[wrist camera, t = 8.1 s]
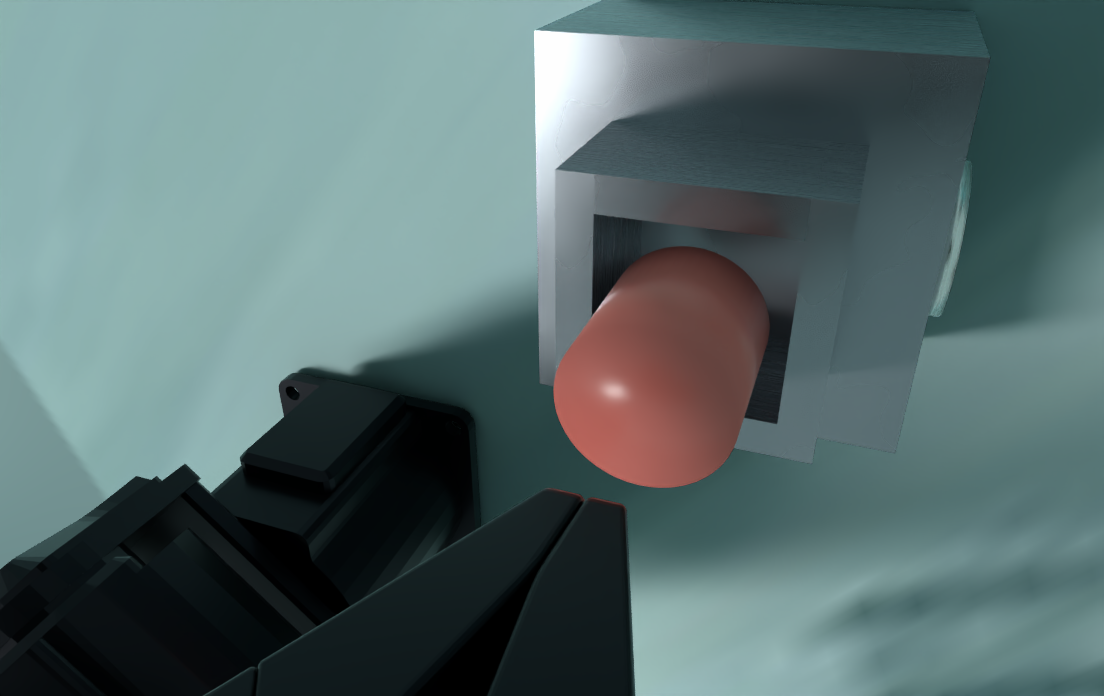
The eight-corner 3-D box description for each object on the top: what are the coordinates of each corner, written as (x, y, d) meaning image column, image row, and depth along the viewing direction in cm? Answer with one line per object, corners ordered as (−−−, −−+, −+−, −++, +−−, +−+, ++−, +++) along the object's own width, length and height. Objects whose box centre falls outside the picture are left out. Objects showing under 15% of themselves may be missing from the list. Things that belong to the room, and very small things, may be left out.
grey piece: (913, 343, 19) (911, 559, 13) (604, 293, 21) (483, 460, 16) (992, 12, 16) (1035, 105, 10) (612, -5, 18) (461, 62, 12)
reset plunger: (759, 404, 13) (730, 505, 11) (608, 375, 14) (554, 465, 12) (779, 258, 12) (750, 341, 10) (612, 235, 12) (553, 308, 10)
